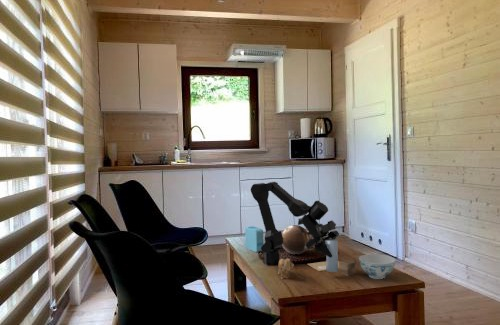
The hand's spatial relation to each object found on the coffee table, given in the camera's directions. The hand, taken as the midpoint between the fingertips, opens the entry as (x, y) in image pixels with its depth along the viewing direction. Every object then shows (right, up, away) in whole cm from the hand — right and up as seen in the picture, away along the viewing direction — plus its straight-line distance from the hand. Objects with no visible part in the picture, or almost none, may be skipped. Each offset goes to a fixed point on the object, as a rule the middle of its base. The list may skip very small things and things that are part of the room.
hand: (334, 255), depth 178 cm
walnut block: (+7, -9, +7) cm, 13 cm away
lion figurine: (-21, -10, +4) cm, 24 cm away
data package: (-34, -8, +51) cm, 61 cm away
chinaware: (+18, -9, +1) cm, 21 cm away
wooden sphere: (-12, -8, +40) cm, 43 cm away
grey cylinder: (-1, -7, +1) cm, 7 cm away
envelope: (+1, -9, +18) cm, 20 cm away
